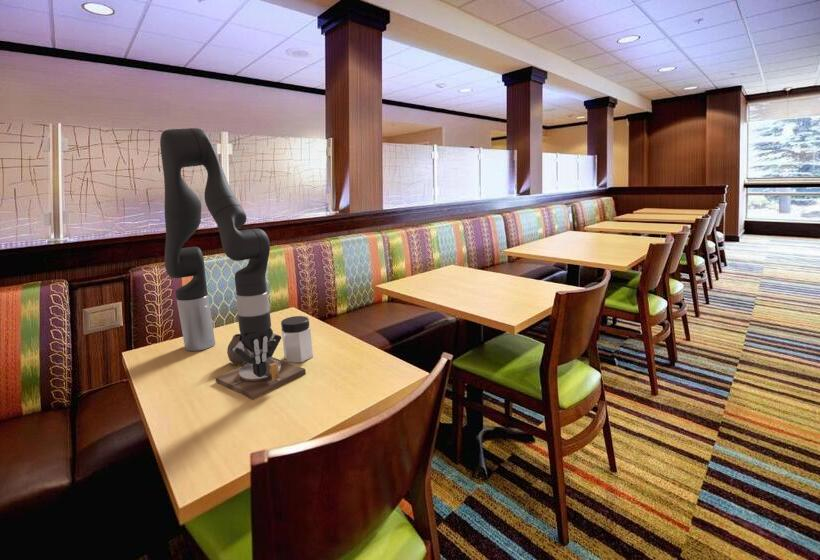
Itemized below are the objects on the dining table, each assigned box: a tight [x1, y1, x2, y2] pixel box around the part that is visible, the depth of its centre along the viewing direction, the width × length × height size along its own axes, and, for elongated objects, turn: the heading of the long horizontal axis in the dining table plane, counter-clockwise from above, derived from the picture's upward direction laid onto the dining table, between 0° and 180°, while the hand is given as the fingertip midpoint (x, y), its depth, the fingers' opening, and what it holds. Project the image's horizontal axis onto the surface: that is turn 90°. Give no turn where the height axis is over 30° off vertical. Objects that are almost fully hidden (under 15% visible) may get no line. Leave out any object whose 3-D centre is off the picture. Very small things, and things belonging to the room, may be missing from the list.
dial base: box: [214, 356, 307, 400], centre depth 118 cm, size 17×17×2 cm
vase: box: [226, 333, 250, 366], centre depth 128 cm, size 7×7×9 cm
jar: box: [280, 315, 314, 363], centre depth 130 cm, size 9×8×12 cm
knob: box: [239, 358, 281, 382], centre depth 115 cm, size 16×11×6 cm
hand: (260, 375), depth 109 cm, fingers closed
